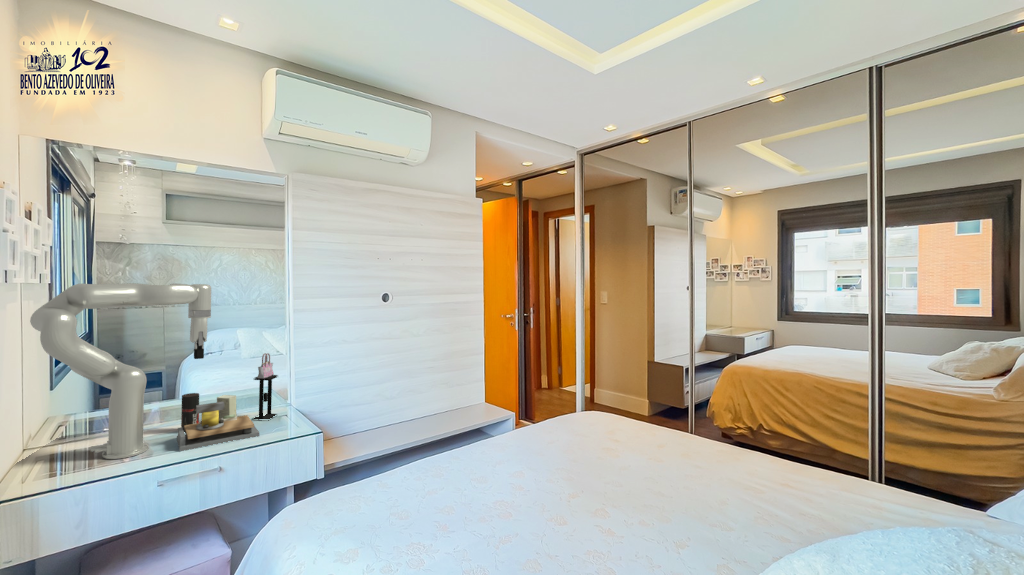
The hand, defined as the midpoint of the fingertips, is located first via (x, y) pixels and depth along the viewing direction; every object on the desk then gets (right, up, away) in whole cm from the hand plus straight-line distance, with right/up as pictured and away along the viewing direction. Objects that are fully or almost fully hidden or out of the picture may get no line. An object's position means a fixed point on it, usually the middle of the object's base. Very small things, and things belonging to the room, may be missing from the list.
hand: (198, 358), depth 177 cm
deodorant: (-6, -31, +3) cm, 32 cm away
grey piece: (+11, -32, -3) cm, 34 cm away
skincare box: (+3, -31, +13) cm, 34 cm away
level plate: (+11, -28, -3) cm, 30 cm away
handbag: (+15, -31, +22) cm, 41 cm away
